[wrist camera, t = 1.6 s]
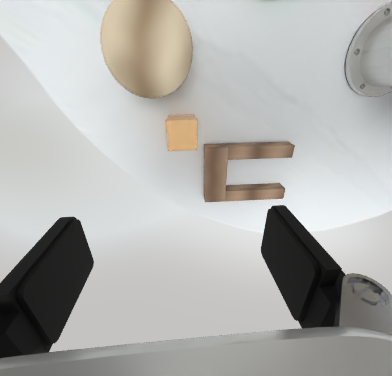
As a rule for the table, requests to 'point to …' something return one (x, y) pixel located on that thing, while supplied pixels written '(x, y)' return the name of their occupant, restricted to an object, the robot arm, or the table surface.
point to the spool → (146, 46)
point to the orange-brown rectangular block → (181, 132)
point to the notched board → (222, 152)
